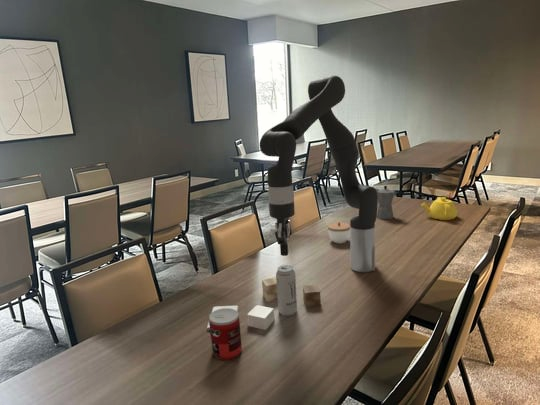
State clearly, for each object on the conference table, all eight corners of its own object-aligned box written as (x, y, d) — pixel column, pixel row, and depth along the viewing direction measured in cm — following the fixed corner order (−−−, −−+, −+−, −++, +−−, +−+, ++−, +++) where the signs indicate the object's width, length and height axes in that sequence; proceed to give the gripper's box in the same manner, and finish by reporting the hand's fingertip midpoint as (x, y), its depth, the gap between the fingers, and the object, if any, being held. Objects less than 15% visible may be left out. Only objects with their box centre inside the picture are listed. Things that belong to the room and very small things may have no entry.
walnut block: (318, 298, 129) (317, 284, 128) (320, 305, 124) (320, 291, 123) (303, 299, 129) (302, 285, 128) (305, 306, 124) (304, 292, 123)
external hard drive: (207, 332, 114) (213, 310, 126) (234, 331, 114) (238, 309, 126) (206, 327, 114) (213, 306, 126) (233, 326, 114) (237, 304, 126)
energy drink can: (291, 318, 117) (289, 273, 114) (274, 314, 121) (271, 270, 117) (300, 309, 122) (298, 266, 119) (284, 305, 125) (281, 263, 122)
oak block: (276, 292, 135) (275, 277, 133) (281, 299, 130) (280, 283, 128) (263, 295, 133) (261, 280, 132) (267, 302, 128) (266, 286, 127)
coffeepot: (400, 216, 212) (400, 185, 208) (391, 221, 206) (392, 188, 202) (375, 212, 223) (375, 182, 219) (366, 216, 217) (366, 185, 213)
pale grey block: (274, 320, 118) (273, 308, 117) (265, 330, 112) (264, 318, 112) (257, 316, 120) (256, 305, 119) (248, 326, 115) (247, 314, 114)
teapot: (416, 212, 219) (417, 194, 216) (450, 212, 216) (451, 193, 213) (425, 223, 199) (426, 202, 197) (462, 222, 197) (464, 201, 194)
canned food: (213, 344, 107) (209, 309, 104) (241, 341, 107) (238, 306, 105) (211, 362, 99) (207, 324, 97) (242, 358, 100) (238, 321, 97)
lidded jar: (325, 244, 178) (325, 225, 176) (330, 236, 188) (330, 218, 185) (348, 246, 174) (348, 226, 172) (352, 238, 184) (352, 219, 181)
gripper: (290, 205, 105) (293, 263, 110) (296, 194, 118) (299, 247, 122) (264, 206, 107) (268, 263, 111) (273, 195, 119) (276, 246, 124)
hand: (284, 254), depth 117 cm, fingers closed
